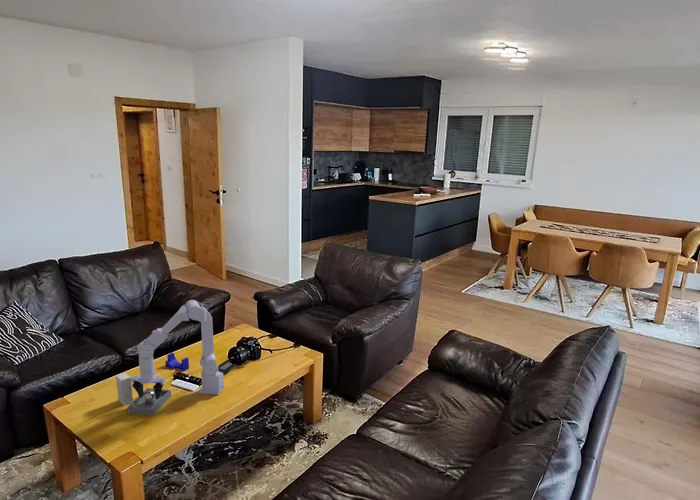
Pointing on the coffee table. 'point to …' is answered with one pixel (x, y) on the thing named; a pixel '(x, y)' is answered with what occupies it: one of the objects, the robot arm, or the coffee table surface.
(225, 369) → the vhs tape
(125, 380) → the skincare box
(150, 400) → the cell
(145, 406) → the grey tray
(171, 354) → the cable clip
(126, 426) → the coffee table surface
